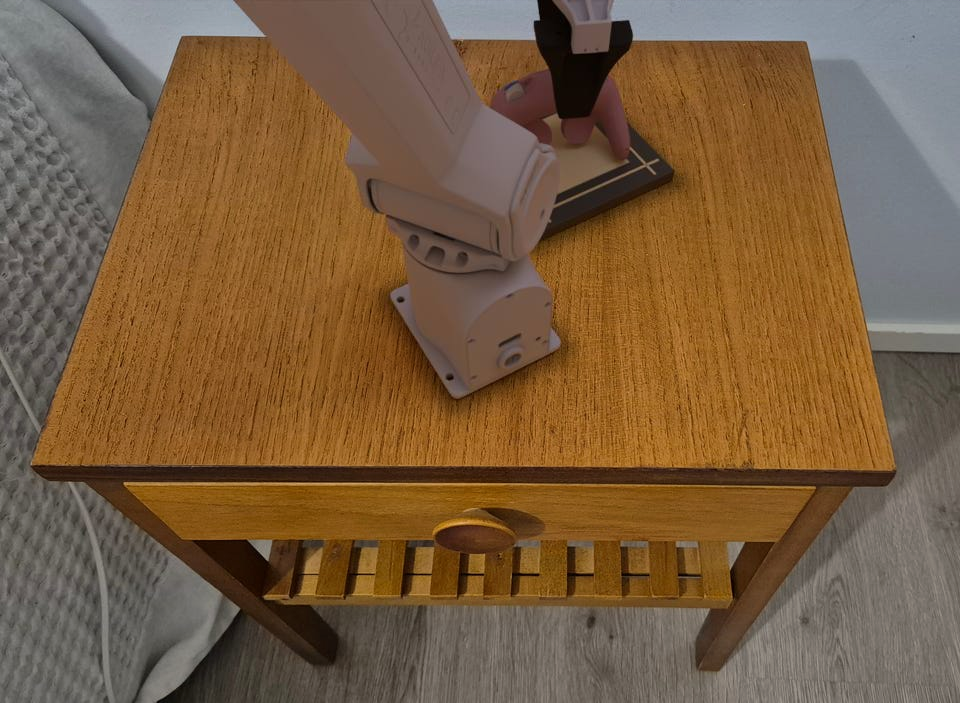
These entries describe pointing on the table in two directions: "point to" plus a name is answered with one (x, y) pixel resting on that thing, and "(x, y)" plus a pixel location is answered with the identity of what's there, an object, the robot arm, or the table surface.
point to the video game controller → (537, 100)
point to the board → (599, 175)
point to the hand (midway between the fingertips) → (566, 76)
